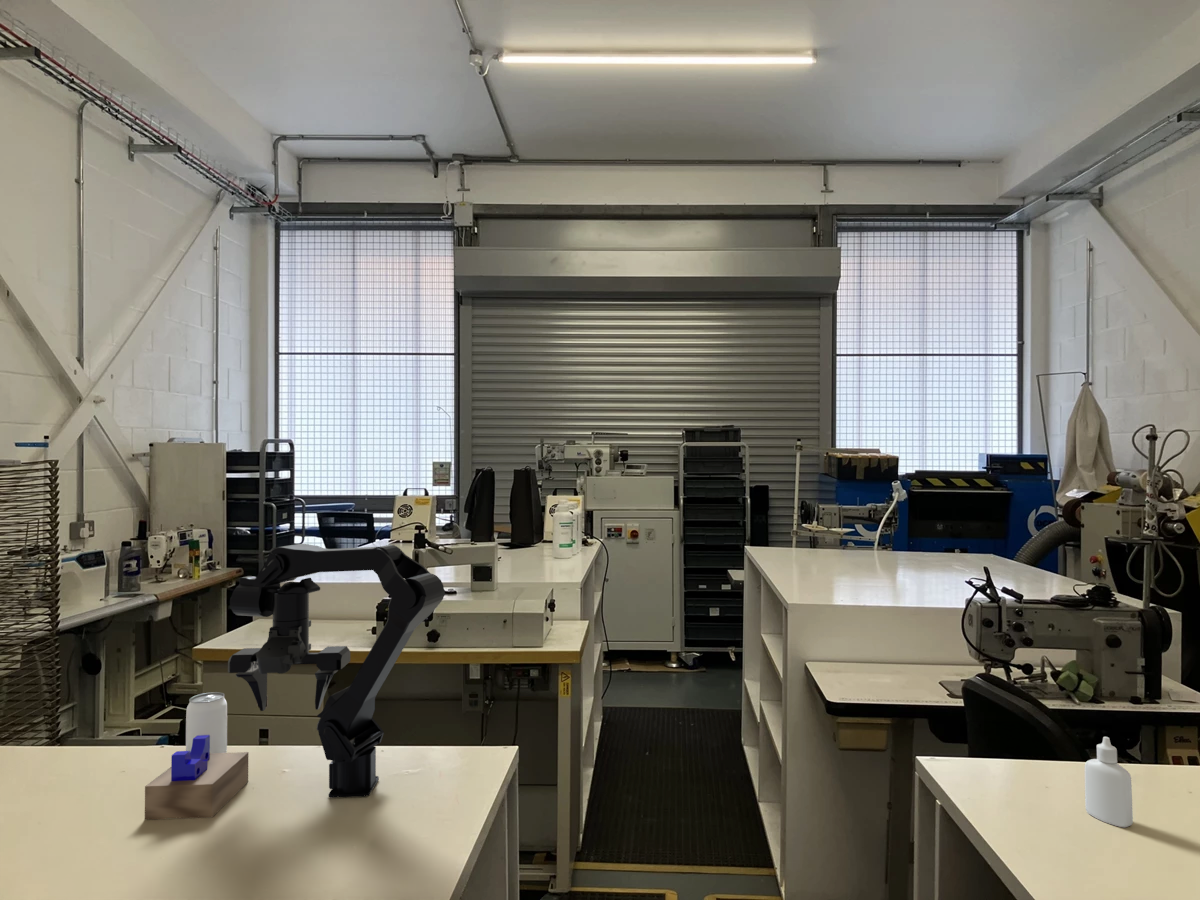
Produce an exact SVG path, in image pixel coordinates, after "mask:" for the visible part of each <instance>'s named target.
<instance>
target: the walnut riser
mask: <svg viewBox="0 0 1200 900" xmlns="http://www.w3.org/2000/svg"><path fill="white" fill-rule="evenodd" d="M248 783H249V752H248V751H243V752H241V751H239V752H238V751H237V752H236V751H235V752H227V753H210V759H209V760H208V762H207V770H206V771H205V772H204V773H202V774H201V775H200V776H199V777H198V778H197V779H196V780H189V781H171V766H170V767H169V768H167V769H166V770H165V771H164V772H162V773H161V774H160V775H158V776H156V777H155V778H154V779H153V780H151V781H150V782H149V783H147V784H146V785H145V786H144V820H147V821H148V820H168V819H167V818H177V819H195V818H198V819H199V818H201V819H202V818H203V819H205V818H213V817H214V816H215V815H216V814H217V813H218V812H220V811H221V809H222V808H223V807H224V806H225V805H227V803H229V802H230V801H231V799H232V798H233V797H234V796H236V794H237V793H239V791H240V790H242V789H243V788H244V787H245V786H246V784H248ZM165 818H166V819H165Z"/></svg>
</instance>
